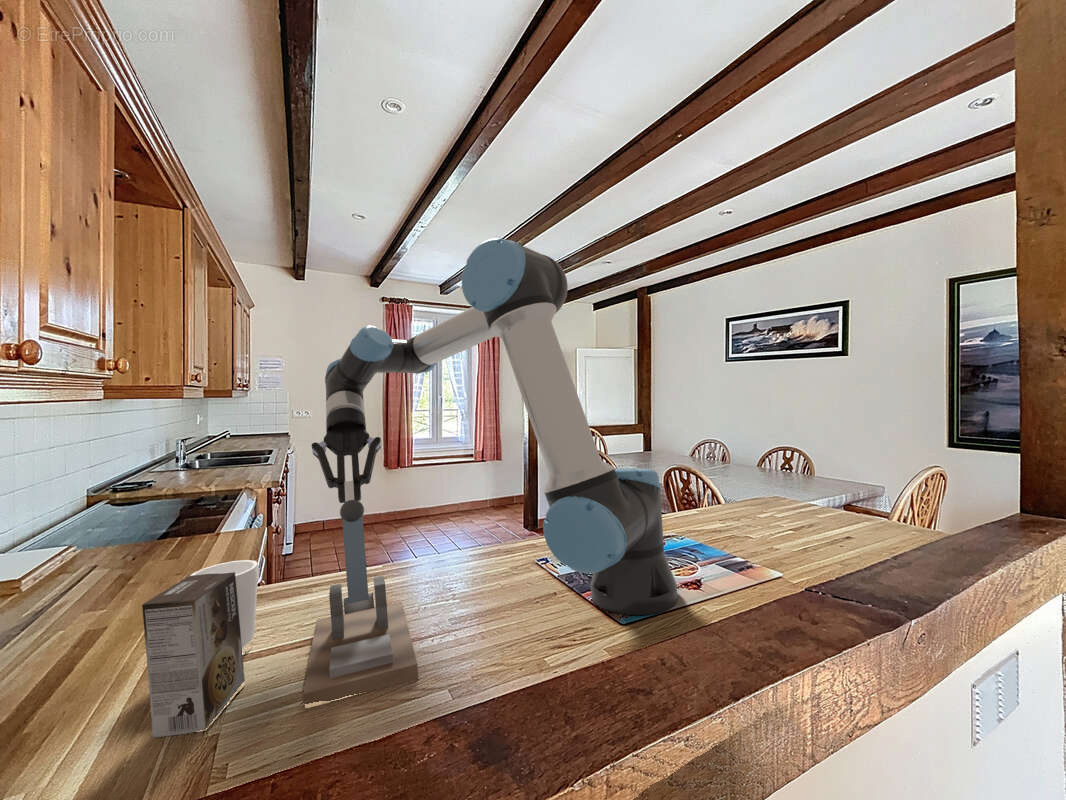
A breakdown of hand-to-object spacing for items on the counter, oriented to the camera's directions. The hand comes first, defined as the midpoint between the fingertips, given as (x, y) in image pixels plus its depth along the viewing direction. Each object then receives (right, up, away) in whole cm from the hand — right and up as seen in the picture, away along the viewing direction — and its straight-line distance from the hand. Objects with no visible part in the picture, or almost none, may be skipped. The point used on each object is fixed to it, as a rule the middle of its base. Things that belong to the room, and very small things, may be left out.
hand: (350, 515), depth 83 cm
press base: (+6, -18, -11) cm, 22 cm away
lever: (+4, -13, -7) cm, 16 cm away
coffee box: (-10, -20, -22) cm, 31 cm away
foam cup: (-16, -20, -8) cm, 27 cm away
